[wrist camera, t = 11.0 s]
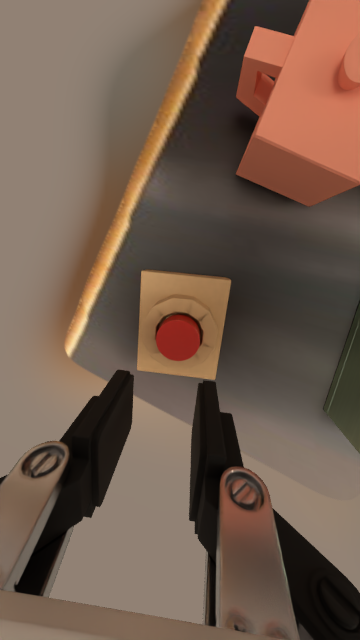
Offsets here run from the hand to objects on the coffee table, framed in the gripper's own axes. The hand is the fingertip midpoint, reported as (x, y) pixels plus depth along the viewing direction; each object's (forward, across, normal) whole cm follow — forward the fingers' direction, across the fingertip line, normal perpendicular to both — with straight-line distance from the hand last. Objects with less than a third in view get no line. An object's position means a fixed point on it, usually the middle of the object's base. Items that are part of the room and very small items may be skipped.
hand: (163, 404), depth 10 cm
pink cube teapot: (+13, -8, -16) cm, 22 cm away
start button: (+10, 0, 0) cm, 10 cm away
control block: (+13, 0, 0) cm, 13 cm away
